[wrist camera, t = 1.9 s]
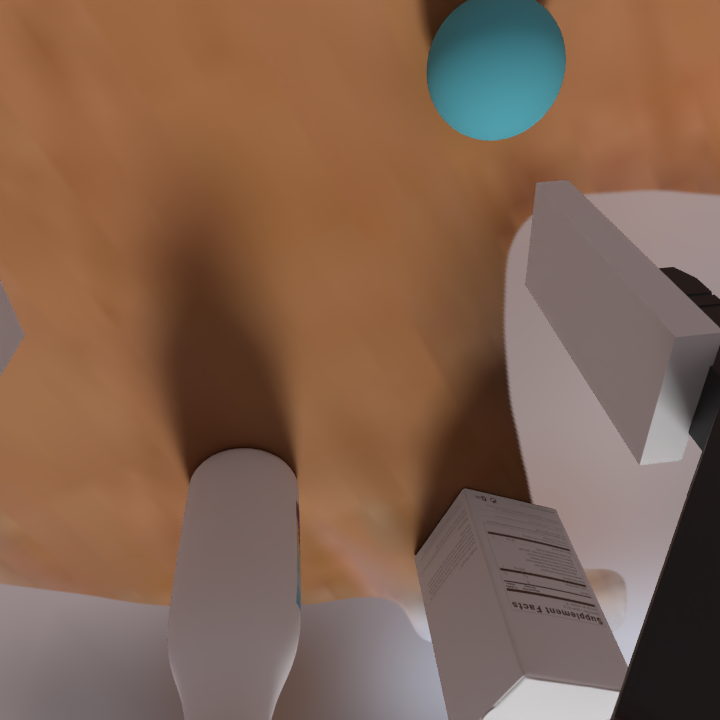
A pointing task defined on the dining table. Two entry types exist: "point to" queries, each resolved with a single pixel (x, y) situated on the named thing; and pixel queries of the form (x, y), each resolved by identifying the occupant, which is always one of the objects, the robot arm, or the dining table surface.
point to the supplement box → (515, 616)
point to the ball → (496, 67)
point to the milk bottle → (236, 587)
